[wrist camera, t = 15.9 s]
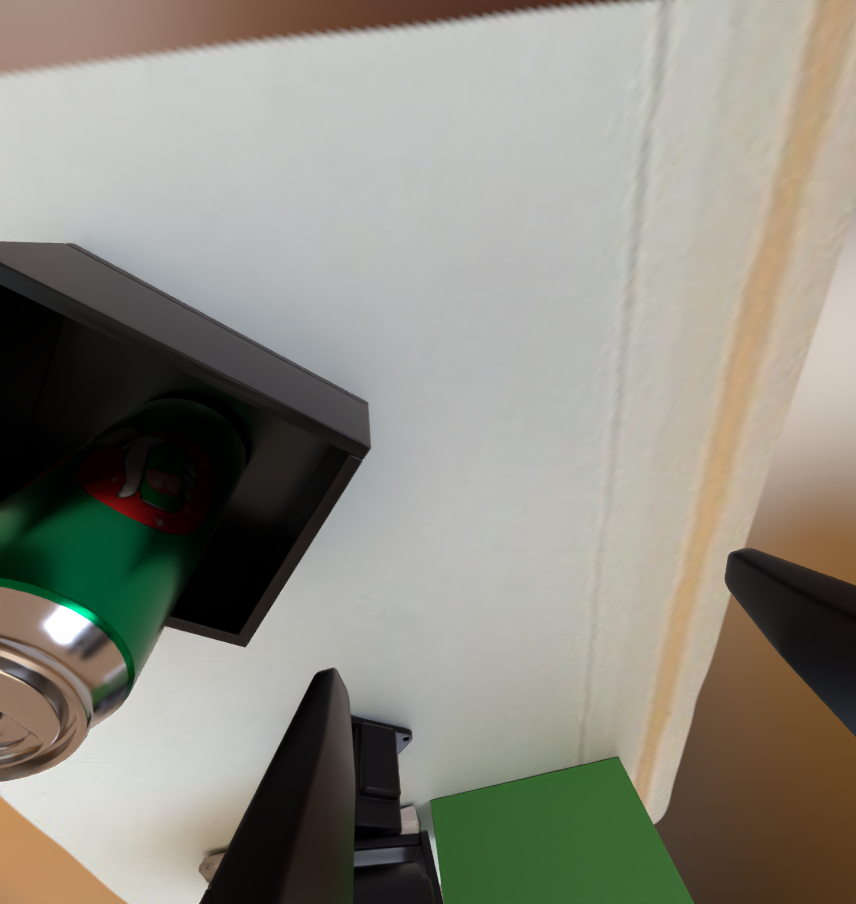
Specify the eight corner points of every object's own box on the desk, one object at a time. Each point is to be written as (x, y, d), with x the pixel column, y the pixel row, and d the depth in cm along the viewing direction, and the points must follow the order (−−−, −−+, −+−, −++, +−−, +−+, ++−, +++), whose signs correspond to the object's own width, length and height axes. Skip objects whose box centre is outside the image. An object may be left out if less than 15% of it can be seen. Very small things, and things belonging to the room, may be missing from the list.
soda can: (158, 506, 19) (-89, 820, 9) (101, 407, 17) (-334, 669, 6) (265, 482, 20) (154, 757, 9) (223, 382, 17) (5, 591, 7)
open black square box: (267, 570, 22) (245, 648, 18) (2, 479, 18) (-114, 553, 14) (368, 402, 19) (371, 447, 15) (73, 242, 15) (-50, 238, 10)
